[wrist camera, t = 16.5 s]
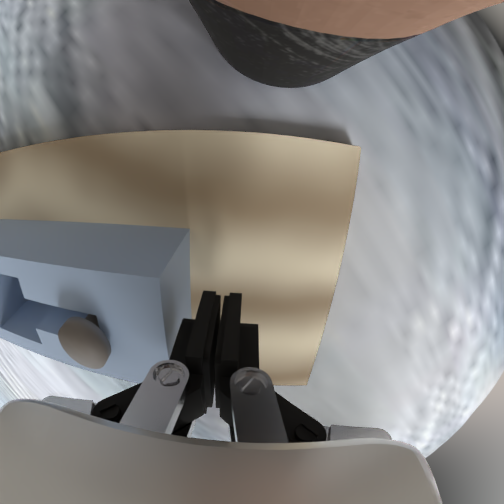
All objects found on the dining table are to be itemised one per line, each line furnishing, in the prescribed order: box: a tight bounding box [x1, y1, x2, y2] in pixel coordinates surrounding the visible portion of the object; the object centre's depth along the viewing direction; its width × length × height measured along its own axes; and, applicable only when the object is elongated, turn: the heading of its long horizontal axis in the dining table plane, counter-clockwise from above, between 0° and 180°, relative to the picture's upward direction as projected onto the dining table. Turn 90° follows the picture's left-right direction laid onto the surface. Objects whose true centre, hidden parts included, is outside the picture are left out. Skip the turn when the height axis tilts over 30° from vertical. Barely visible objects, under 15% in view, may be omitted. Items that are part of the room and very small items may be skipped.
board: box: [0, 130, 361, 385], centre depth 12 cm, size 16×32×7 cm, turn 86°
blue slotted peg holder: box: [0, 219, 192, 383], centre depth 12 cm, size 6×22×5 cm, turn 85°
